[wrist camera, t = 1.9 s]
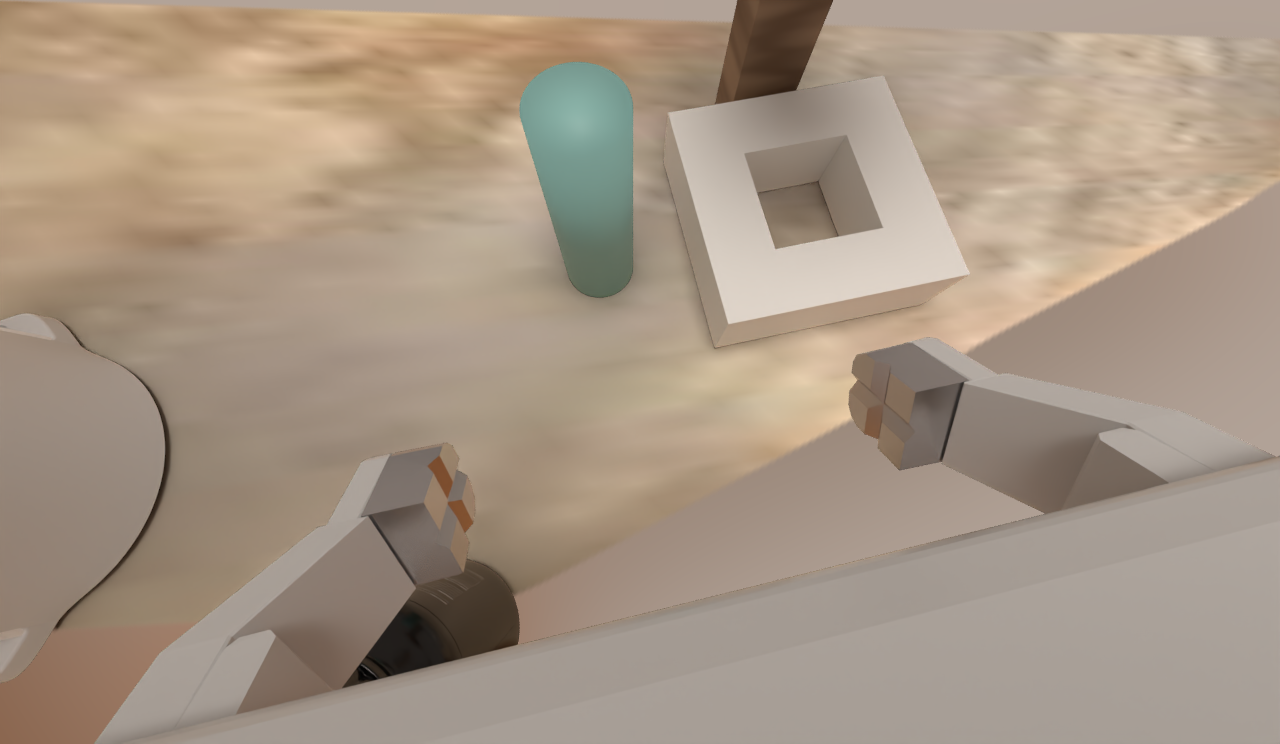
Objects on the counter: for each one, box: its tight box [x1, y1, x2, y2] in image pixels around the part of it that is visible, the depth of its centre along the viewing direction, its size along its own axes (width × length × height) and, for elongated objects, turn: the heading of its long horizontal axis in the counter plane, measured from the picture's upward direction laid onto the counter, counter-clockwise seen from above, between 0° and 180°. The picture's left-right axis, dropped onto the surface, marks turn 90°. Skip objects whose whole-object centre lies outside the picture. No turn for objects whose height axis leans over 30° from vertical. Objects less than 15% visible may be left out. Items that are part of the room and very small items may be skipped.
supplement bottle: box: [342, 560, 519, 688], centre depth 17 cm, size 7×7×12 cm
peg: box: [520, 62, 633, 297], centre depth 22 cm, size 4×4×12 cm
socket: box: [663, 75, 970, 348], centre depth 26 cm, size 13×13×4 cm
